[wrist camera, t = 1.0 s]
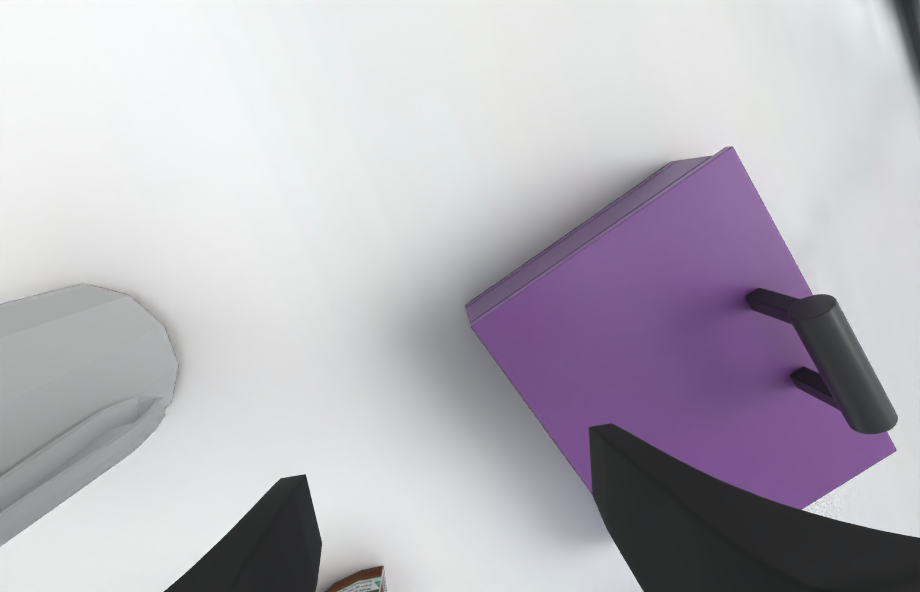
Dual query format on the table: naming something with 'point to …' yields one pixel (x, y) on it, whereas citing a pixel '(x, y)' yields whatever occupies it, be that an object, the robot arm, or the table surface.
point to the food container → (362, 582)
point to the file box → (581, 236)
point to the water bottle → (74, 394)
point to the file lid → (697, 346)
